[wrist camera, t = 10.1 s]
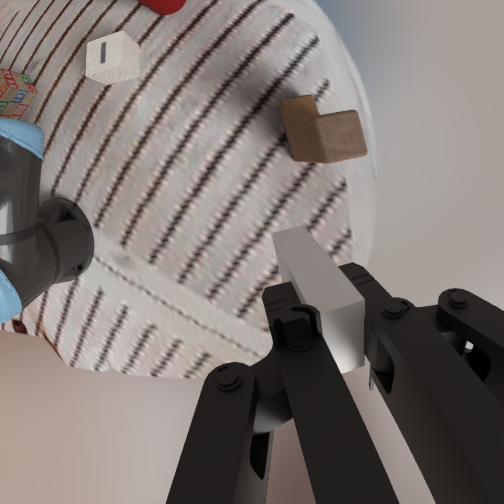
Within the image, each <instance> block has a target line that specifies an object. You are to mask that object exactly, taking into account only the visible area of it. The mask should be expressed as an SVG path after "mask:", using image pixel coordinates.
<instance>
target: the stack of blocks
mask: <svg viewBox="0 0 504 504" xmlns="http://www.w3.org/2000/svg"><path fill="white" fill-rule="evenodd" d="M37 94H38V93H37V91H36V89H35V87H34V85H33V84H32V82H31V80H30V78H29V76H27V75H24V74H19V73H15V72H12V71H9V70H5V69H0V117H5V118H12V119H17V120H18V118H19V117H20V116H21V115H22V113H23V112H24V110H25V109H26V108H27V107H28V105H29V104H30V103H31V102H32V100H33V99H34V98H35V97H36V95H37Z"/></svg>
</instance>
